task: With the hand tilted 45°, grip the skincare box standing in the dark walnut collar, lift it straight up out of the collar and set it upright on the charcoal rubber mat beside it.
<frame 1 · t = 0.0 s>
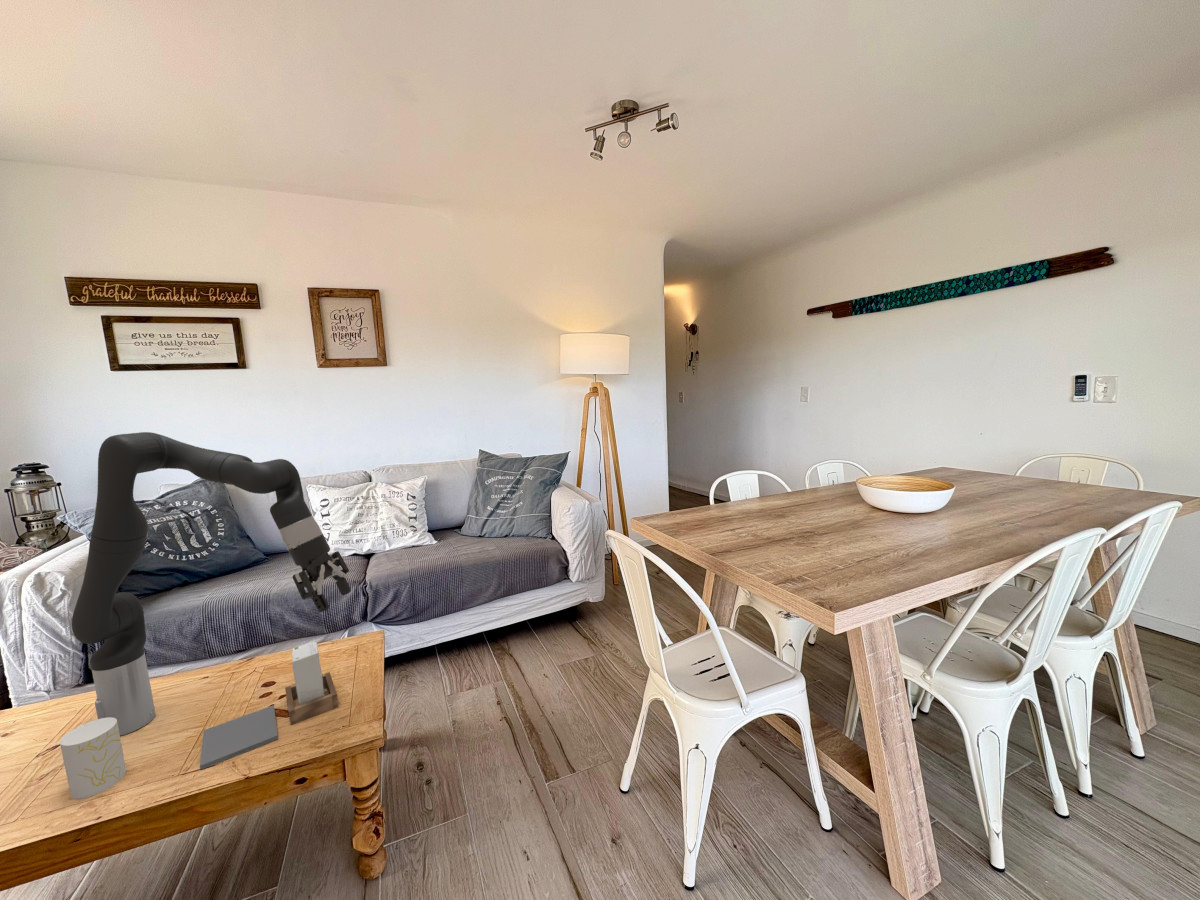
hand: (336, 601, 111), 31 cm above the table, tool tilted 20°, fingers open, 8 cm apart
grey patterned cylinder: (99, 783, 100), on the table
walnut collar: (312, 703, 123), on the table
charcoal mat: (240, 736, 112), on the table
skincare box: (312, 703, 123), resting in walnut collar
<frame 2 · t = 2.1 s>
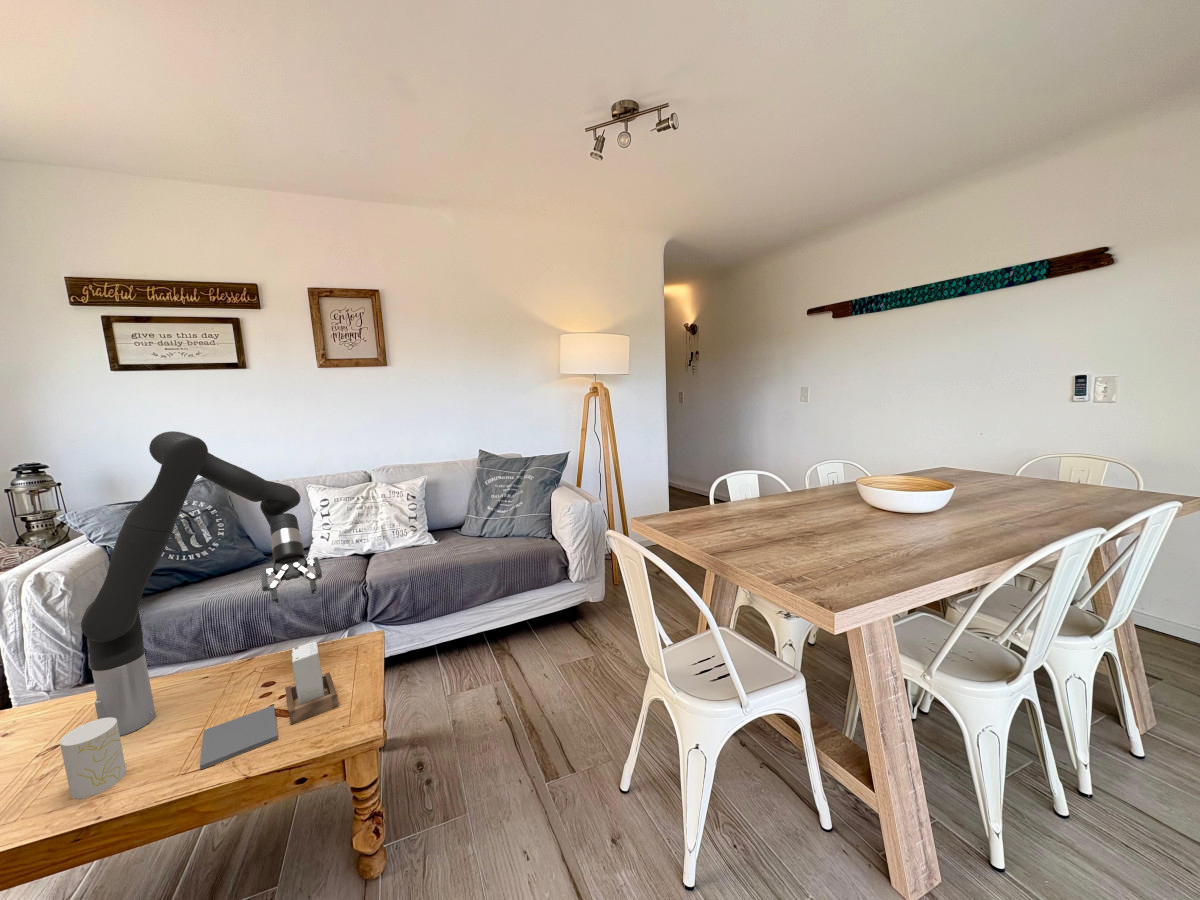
hand: (295, 597, 130), 25 cm above the table, tool tilted 45°, fingers open, 8 cm apart
nothing on the table moved.
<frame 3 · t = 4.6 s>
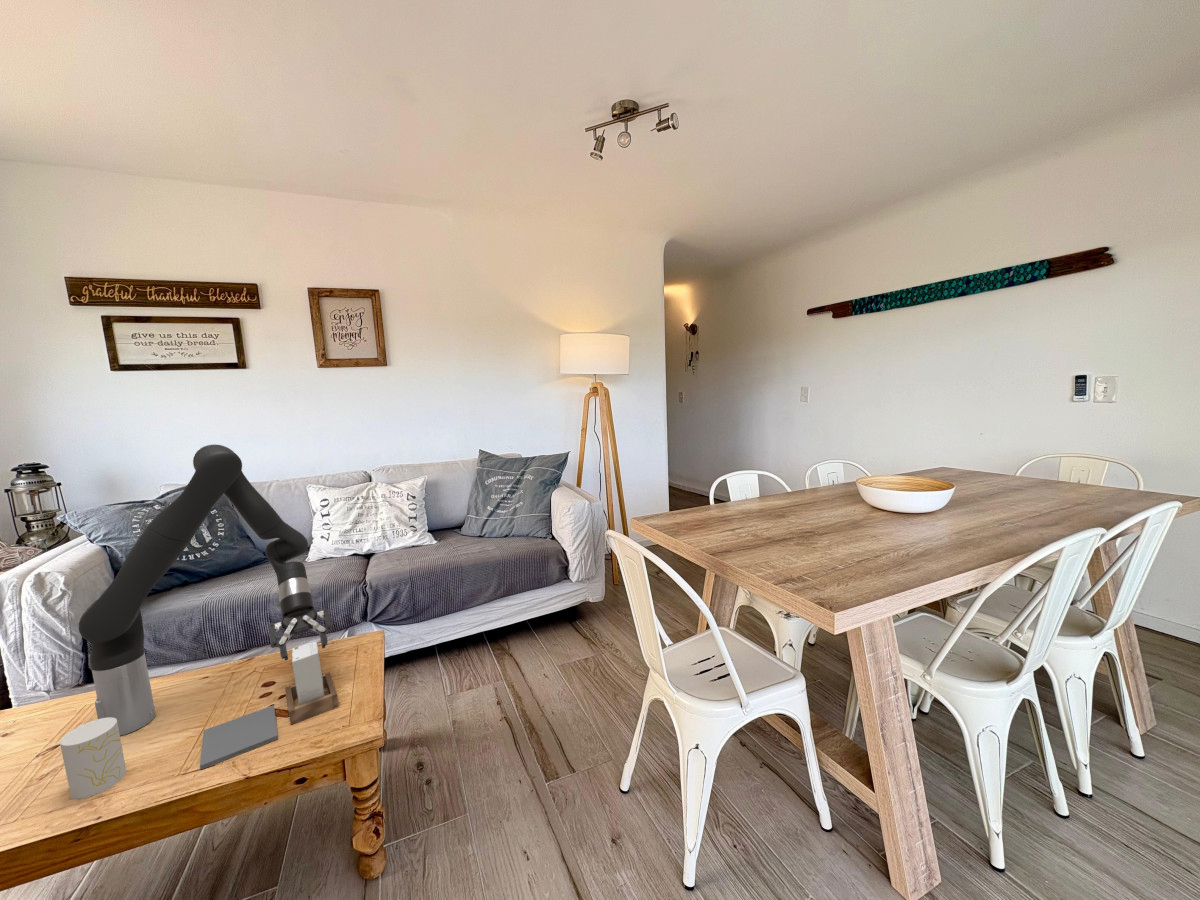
hand: (305, 653, 125), 12 cm above the table, tool tilted 45°, fingers open, 8 cm apart
nothing on the table moved.
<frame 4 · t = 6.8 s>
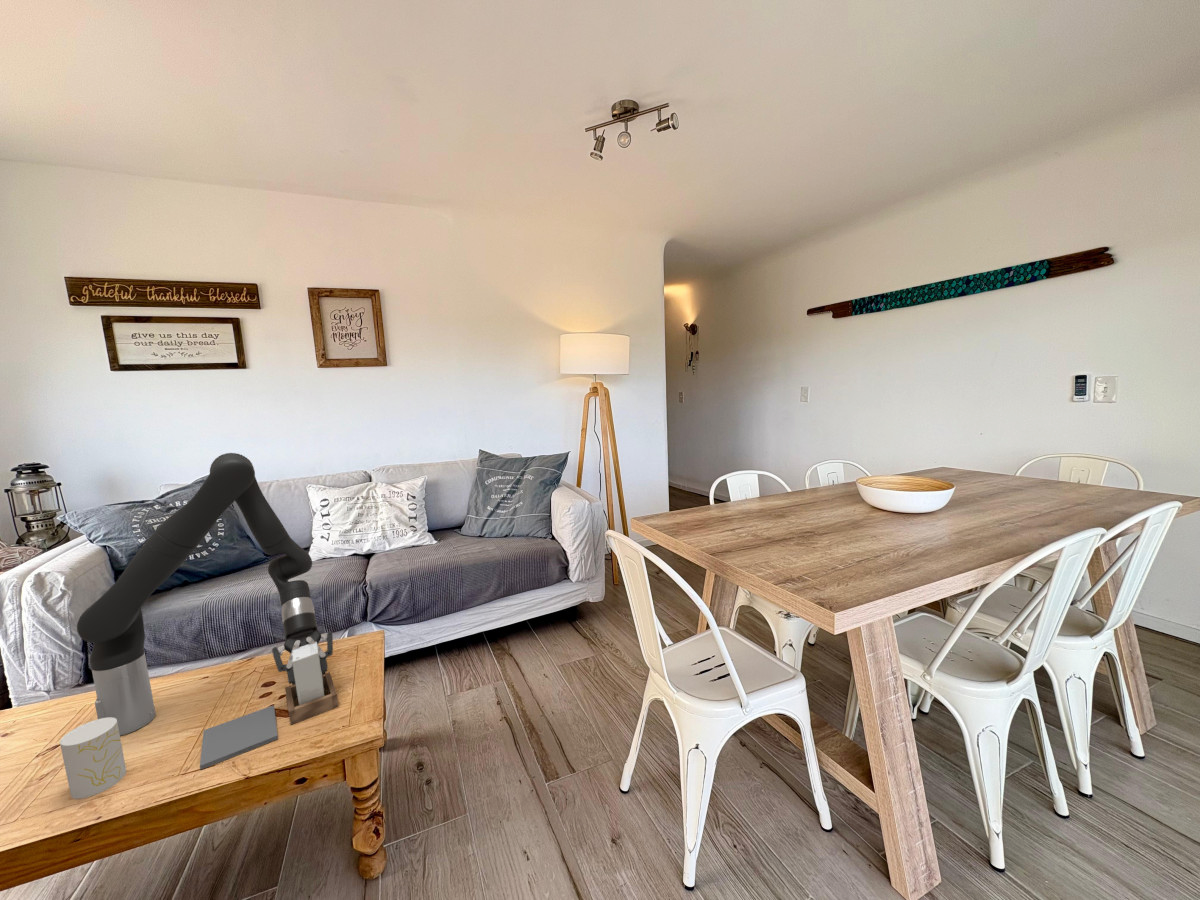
hand: (309, 678, 121), 8 cm above the table, tool tilted 45°, fingers closed on skincare box, 6 cm apart
skincare box: (312, 703, 123), resting in walnut collar, touching gripper
everything else where it was.
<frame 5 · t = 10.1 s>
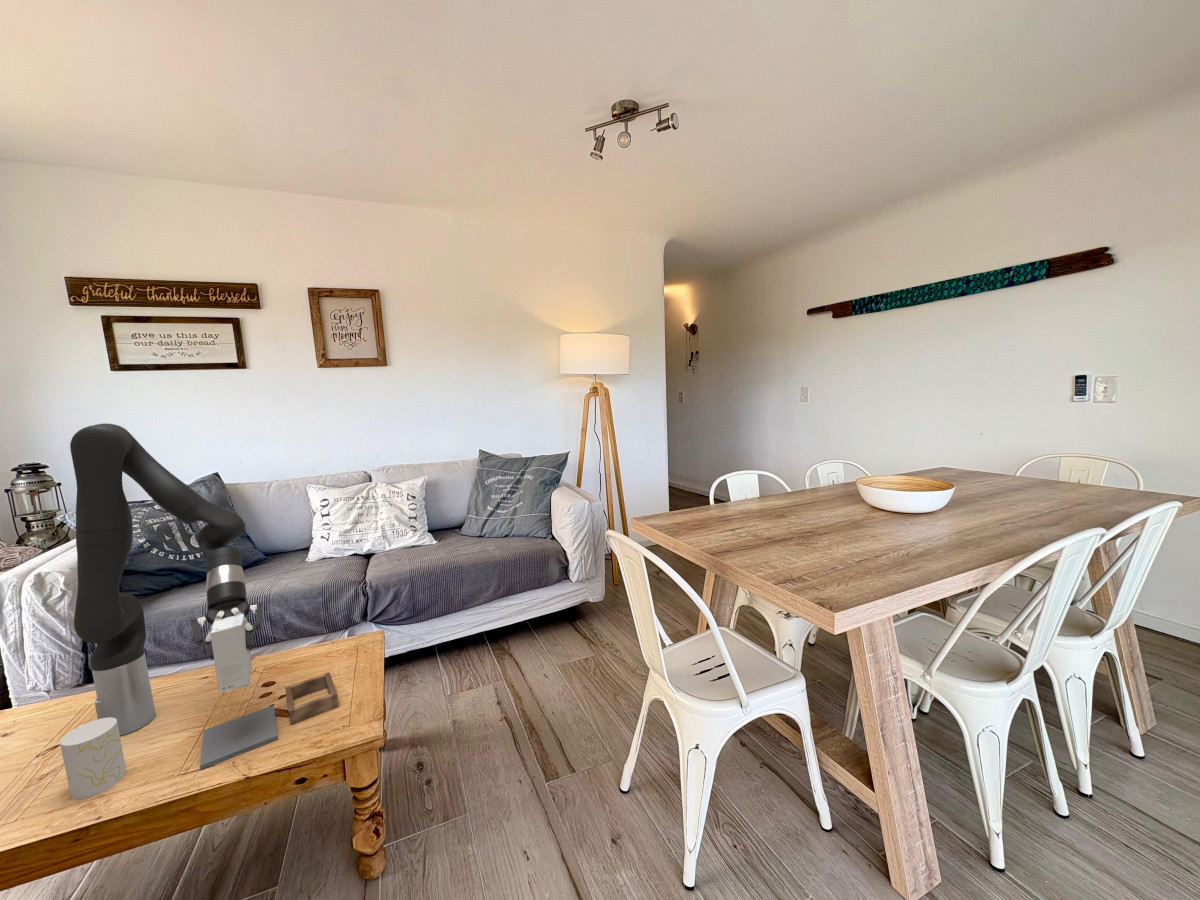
hand: (231, 653, 108), 22 cm above the table, tool tilted 45°, fingers closed on skincare box, 6 cm apart
skincare box: (235, 681, 111), point 14 cm above the table, touching gripper
everything else where it was.
when the fingers open (10 cm above the table, at t = 13.5 s): skincare box drops 1 cm, resting on charcoal mat.
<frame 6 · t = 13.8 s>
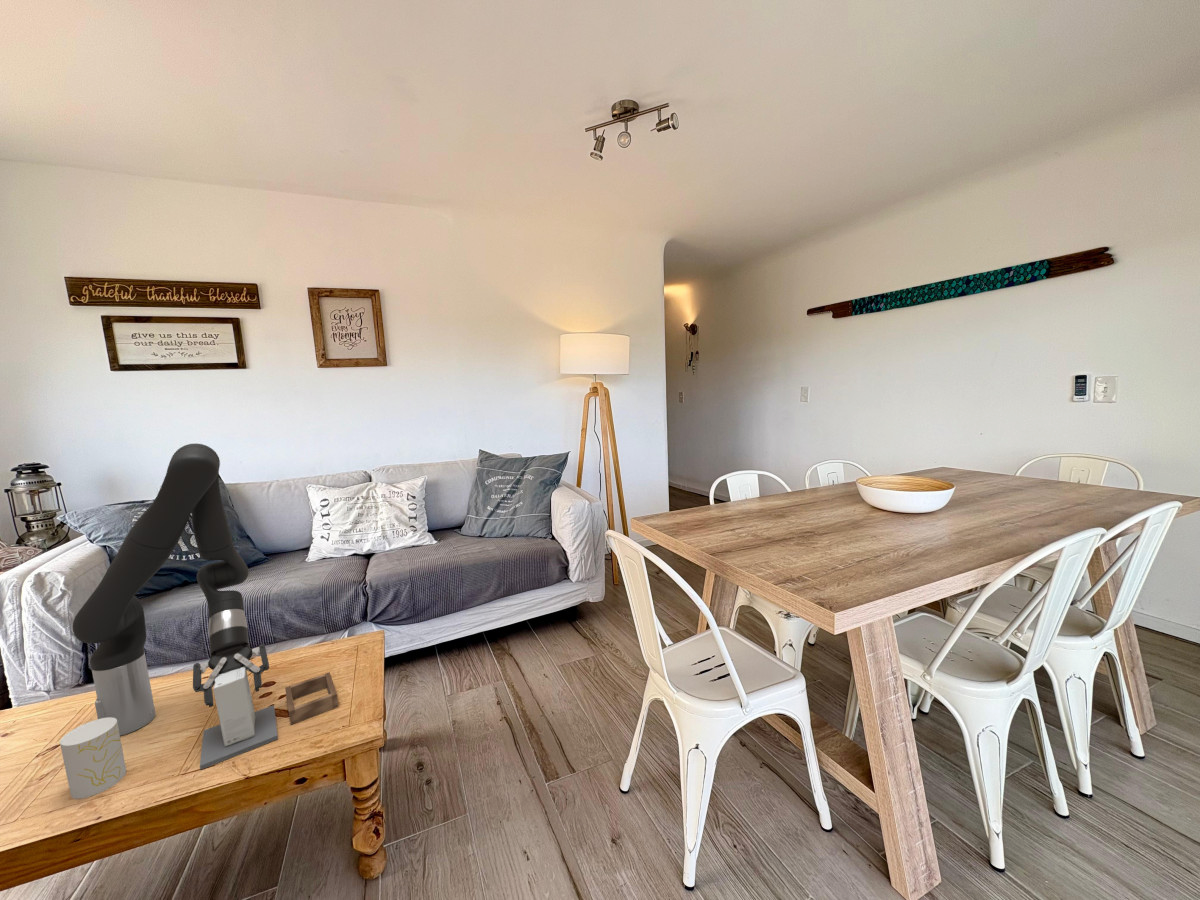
hand: (234, 697, 109), 11 cm above the table, tool tilted 45°, fingers open, 8 cm apart
skincare box: (240, 732, 112), point 1 cm above the table, touching charcoal mat
everything else where it was.
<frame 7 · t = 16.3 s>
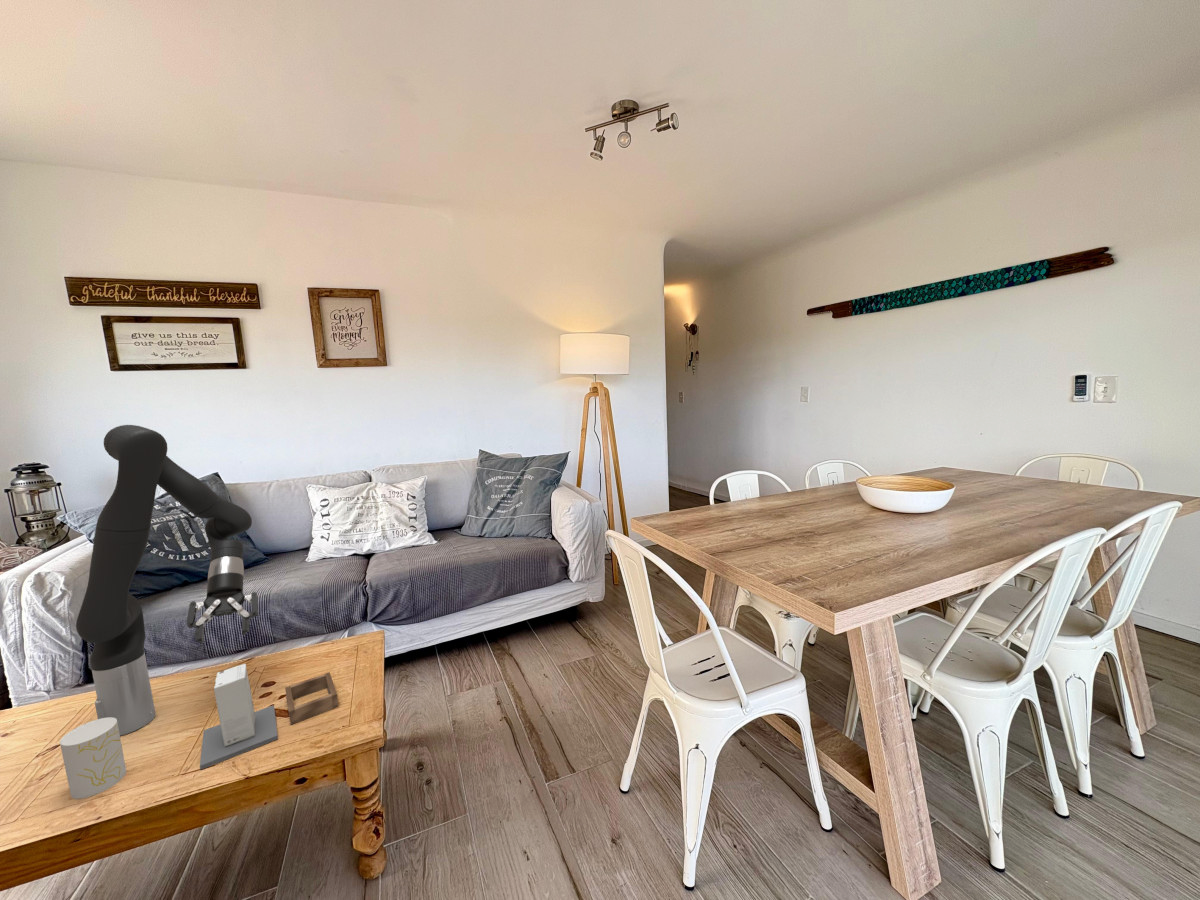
hand: (222, 637, 118), 20 cm above the table, tool tilted 45°, fingers open, 8 cm apart
nothing on the table moved.
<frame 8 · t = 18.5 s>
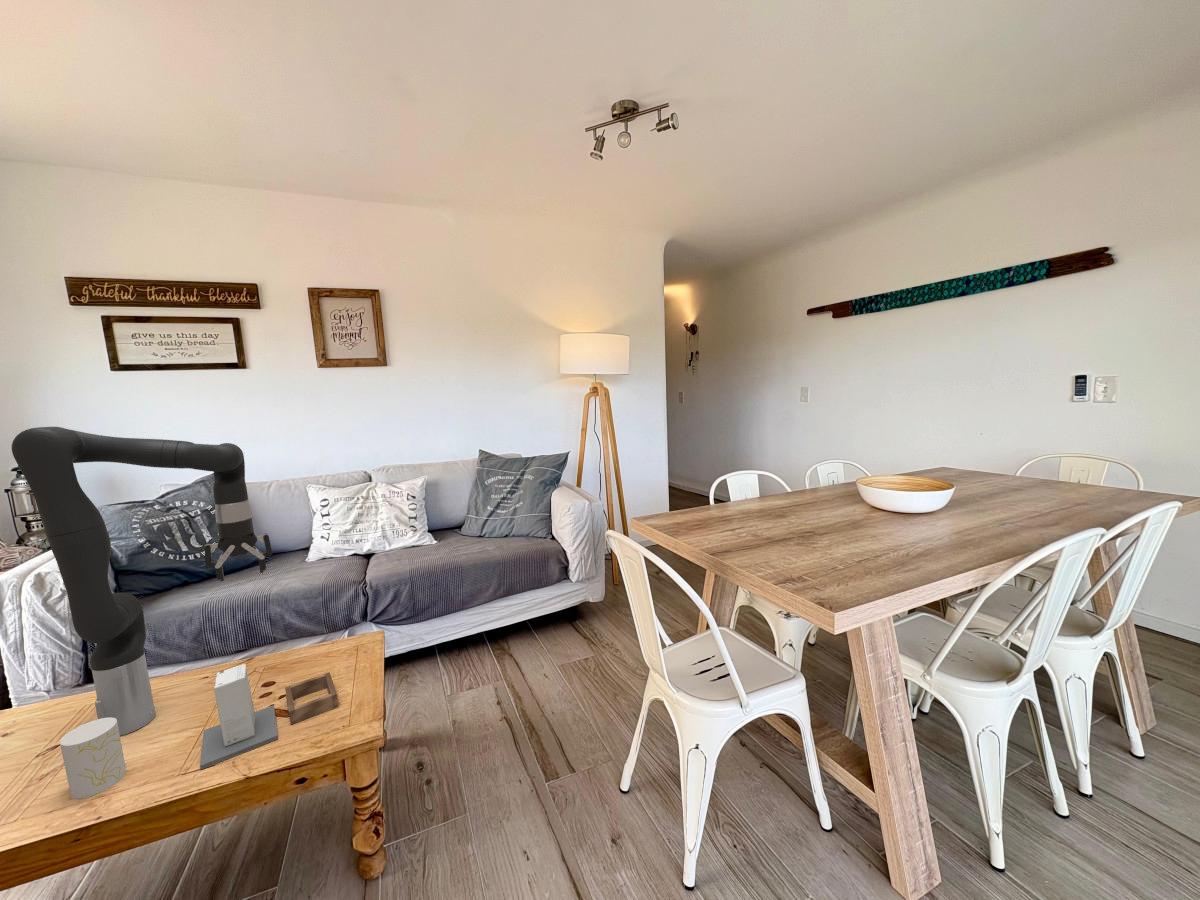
hand: (242, 576, 127), 32 cm above the table, tool pointing down, fingers open, 8 cm apart
nothing on the table moved.
at the end: skincare box inside the target area on the charcoal mat (0.3 cm from its centre), point 0.8 cm above the charcoal mat's base; skincare box tilted 0°; the gripper is holding nothing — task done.
